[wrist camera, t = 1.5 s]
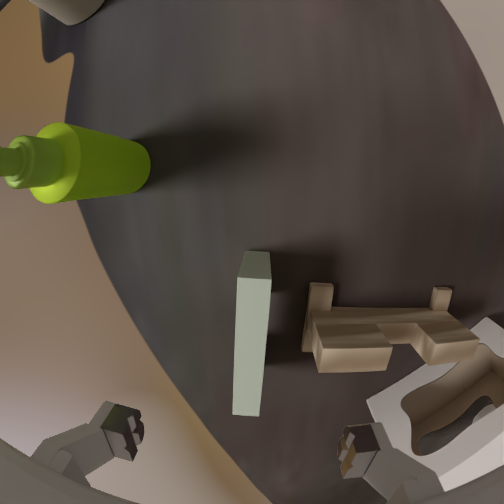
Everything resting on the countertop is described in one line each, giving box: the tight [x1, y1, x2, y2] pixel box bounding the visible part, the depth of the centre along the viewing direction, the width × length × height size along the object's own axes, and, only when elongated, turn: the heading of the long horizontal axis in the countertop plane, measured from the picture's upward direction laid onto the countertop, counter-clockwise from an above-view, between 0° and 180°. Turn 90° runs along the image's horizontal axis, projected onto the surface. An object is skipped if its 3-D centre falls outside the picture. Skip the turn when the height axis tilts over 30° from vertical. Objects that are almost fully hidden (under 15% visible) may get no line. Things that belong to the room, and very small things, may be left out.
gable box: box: [366, 317, 504, 492], centre depth 20 cm, size 22×13×28 cm, turn 122°
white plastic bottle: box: [472, 404, 497, 424], centre depth 30 cm, size 6×12×6 cm
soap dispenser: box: [0, 122, 151, 204], centre depth 19 cm, size 6×7×20 cm
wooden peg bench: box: [301, 282, 480, 373], centre depth 27 cm, size 8×18×9 cm, turn 87°
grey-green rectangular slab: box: [233, 250, 272, 416], centre depth 27 cm, size 14×2×9 cm, turn 177°
